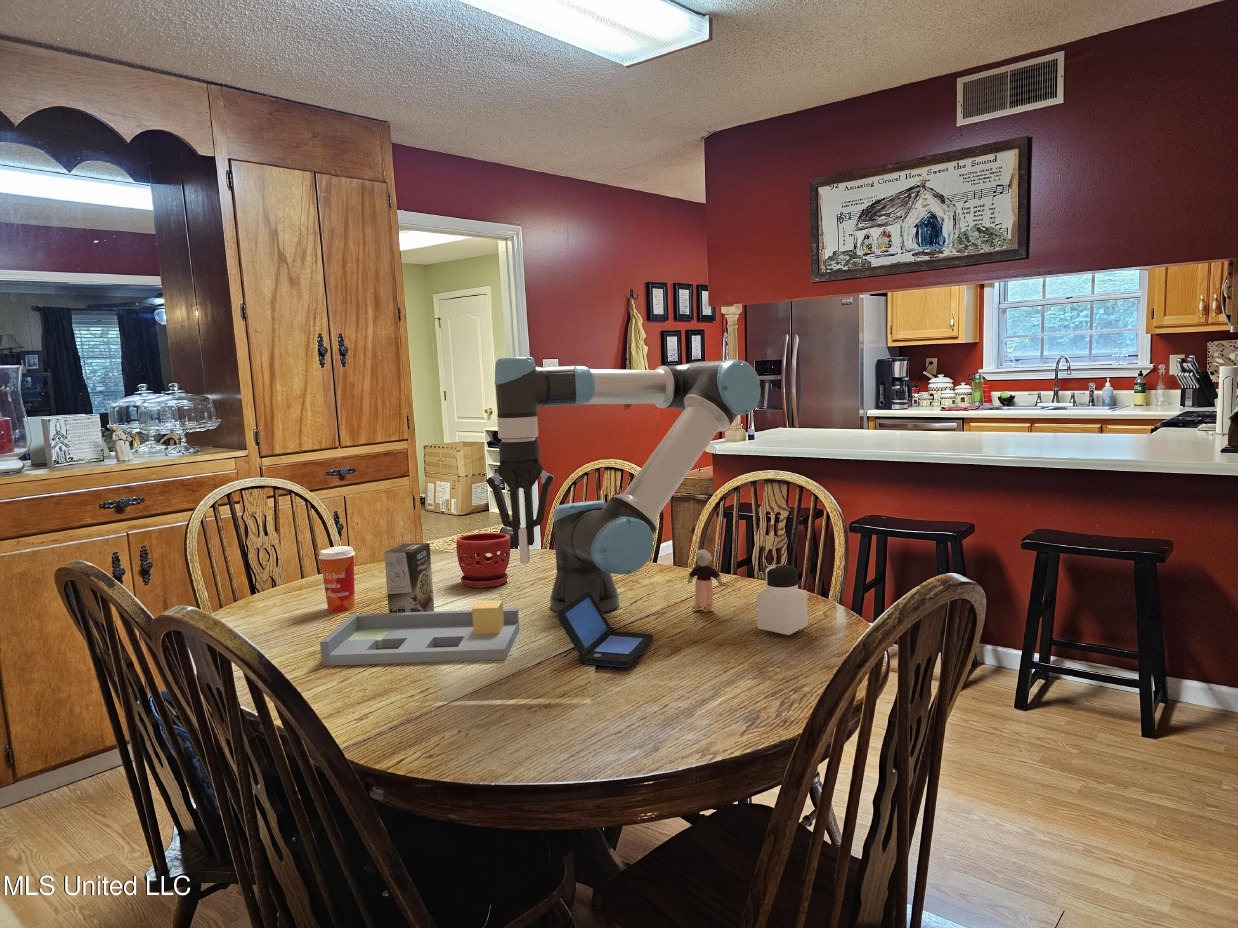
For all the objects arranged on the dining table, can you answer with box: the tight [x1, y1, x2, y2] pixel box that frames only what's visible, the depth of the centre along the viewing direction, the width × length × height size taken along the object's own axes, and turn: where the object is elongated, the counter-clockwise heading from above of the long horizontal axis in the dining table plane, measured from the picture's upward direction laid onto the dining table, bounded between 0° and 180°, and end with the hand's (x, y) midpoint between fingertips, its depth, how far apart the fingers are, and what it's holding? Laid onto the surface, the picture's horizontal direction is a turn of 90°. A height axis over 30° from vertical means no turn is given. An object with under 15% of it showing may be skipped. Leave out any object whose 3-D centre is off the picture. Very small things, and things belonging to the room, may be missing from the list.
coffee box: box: [384, 542, 435, 613], centre depth 169 cm, size 9×6×16 cm
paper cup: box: [318, 545, 356, 613], centre depth 180 cm, size 8×8×14 cm
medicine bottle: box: [756, 564, 809, 636], centre depth 155 cm, size 7×7×12 cm
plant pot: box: [455, 532, 511, 589], centre depth 198 cm, size 13×13×12 cm
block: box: [471, 599, 504, 634], centre depth 155 cm, size 5×5×5 cm
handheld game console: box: [556, 592, 654, 668], centre depth 146 cm, size 16×13×9 cm
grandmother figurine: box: [686, 549, 724, 611], centre depth 169 cm, size 8×4×13 cm, turn 76°
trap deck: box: [319, 608, 520, 667], centre depth 153 cm, size 34×16×4 cm, turn 88°
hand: (525, 561), depth 154 cm, fingers closed
